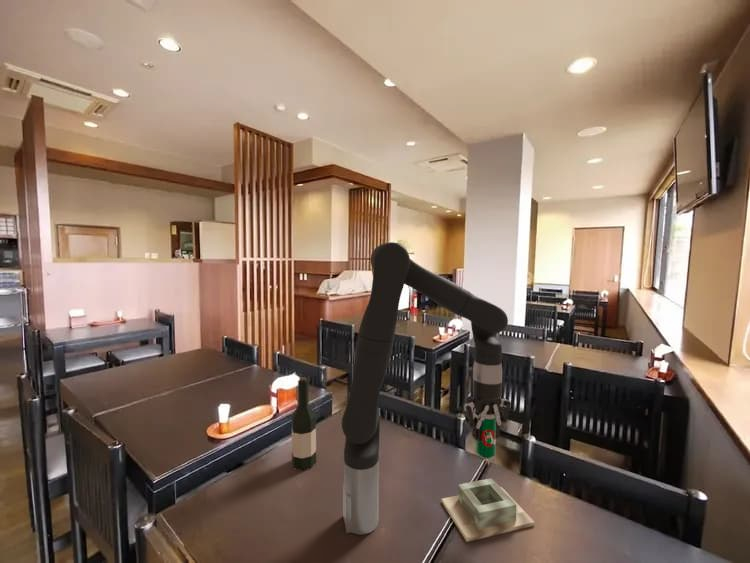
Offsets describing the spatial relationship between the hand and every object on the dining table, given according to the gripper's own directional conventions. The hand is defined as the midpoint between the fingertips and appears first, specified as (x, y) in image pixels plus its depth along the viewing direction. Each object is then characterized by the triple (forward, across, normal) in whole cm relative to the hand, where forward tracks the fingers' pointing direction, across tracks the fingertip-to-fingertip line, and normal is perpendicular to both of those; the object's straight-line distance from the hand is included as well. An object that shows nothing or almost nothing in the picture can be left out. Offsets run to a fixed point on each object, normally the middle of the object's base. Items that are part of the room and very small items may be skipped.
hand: (486, 438), depth 89 cm
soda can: (+5, 0, 0) cm, 5 cm away
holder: (+21, 0, 0) cm, 21 cm away
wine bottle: (+22, -47, +36) cm, 63 cm away
